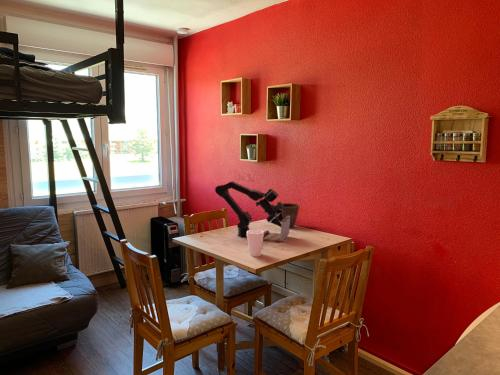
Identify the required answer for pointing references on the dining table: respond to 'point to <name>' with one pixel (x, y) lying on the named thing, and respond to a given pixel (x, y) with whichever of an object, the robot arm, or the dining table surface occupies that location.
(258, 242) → the foam cup
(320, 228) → the dining table surface
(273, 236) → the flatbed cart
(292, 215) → the plant pot
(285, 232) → the tailgate
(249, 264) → the dining table surface
